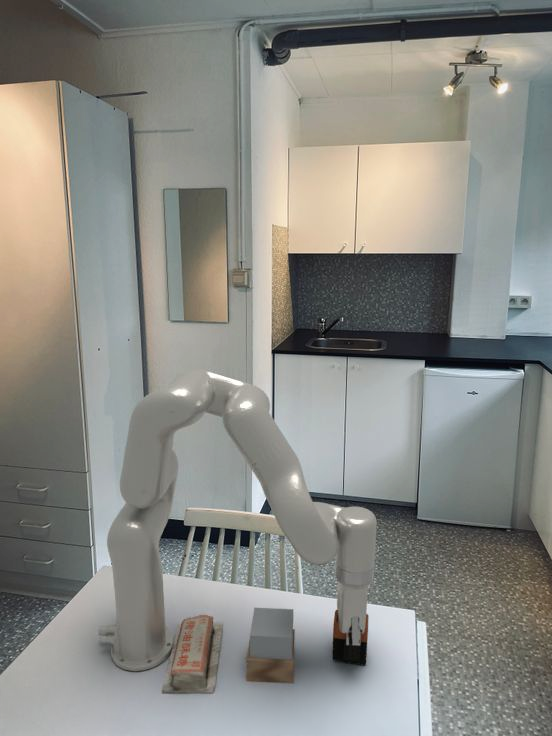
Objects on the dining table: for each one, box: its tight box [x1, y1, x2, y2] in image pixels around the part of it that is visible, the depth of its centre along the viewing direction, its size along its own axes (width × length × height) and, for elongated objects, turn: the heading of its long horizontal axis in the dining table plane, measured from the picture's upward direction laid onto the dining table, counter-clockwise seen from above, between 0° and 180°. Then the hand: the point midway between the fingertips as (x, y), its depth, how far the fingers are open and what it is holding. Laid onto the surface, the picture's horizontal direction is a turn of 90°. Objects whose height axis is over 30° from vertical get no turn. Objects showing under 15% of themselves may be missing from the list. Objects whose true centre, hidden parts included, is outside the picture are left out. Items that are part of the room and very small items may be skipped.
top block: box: [249, 607, 294, 660], centre depth 106 cm, size 8×8×5 cm
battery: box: [331, 609, 369, 666], centre depth 108 cm, size 4×7×10 cm, turn 79°
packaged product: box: [161, 614, 224, 694], centre depth 108 cm, size 18×5×10 cm
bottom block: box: [246, 628, 296, 684], centre depth 107 cm, size 9×9×5 cm
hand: (350, 648), depth 109 cm, fingers closed on battery, 4 cm apart
